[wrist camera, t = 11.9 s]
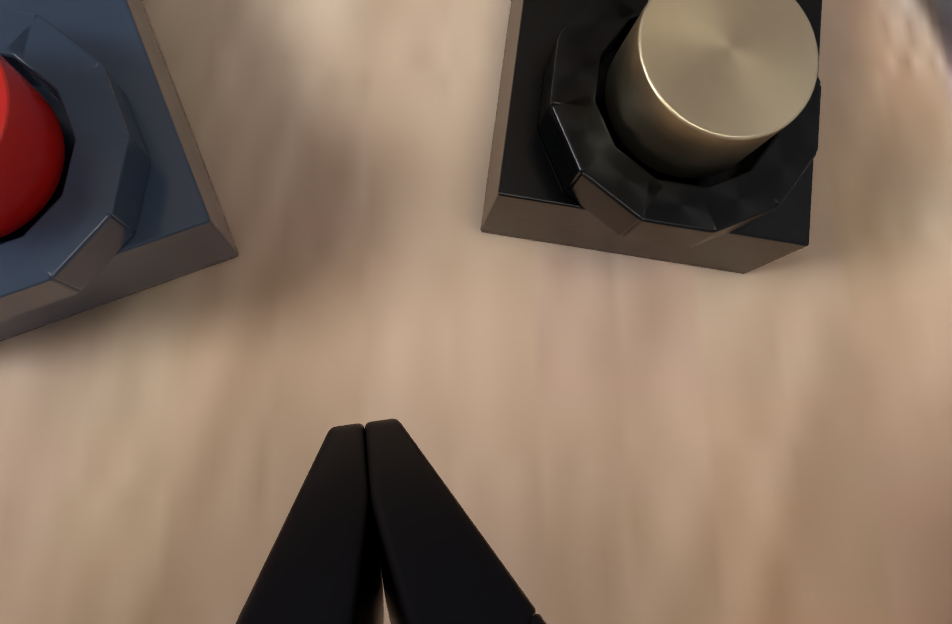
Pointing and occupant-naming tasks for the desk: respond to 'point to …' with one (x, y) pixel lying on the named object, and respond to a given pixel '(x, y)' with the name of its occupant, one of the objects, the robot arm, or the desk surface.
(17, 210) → the button
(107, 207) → the box
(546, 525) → the desk surface
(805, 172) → the light box
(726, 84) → the light button
